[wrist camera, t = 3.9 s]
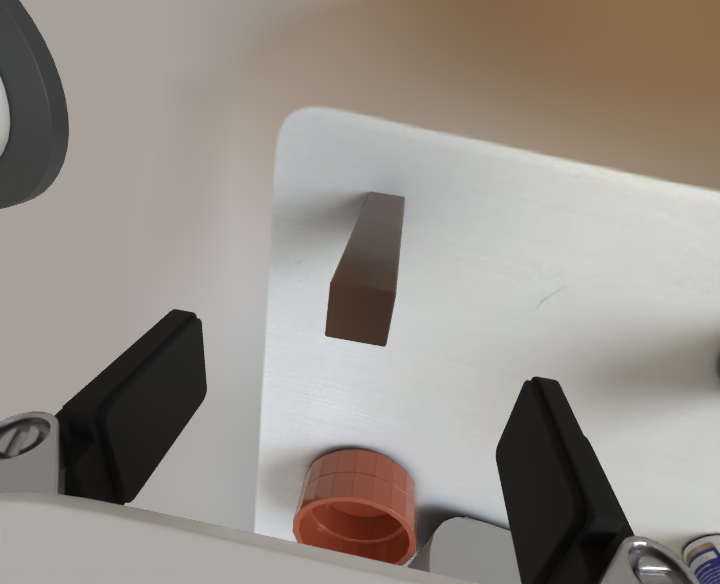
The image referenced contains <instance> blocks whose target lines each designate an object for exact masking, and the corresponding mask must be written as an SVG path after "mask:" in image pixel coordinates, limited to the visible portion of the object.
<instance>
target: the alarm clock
mask: <svg viewBox="0 0 720 584" xmlns="http://www.w3.org/2000/svg"><path fill="white" fill-rule="evenodd" d="M408 568H412V569H416V570H421V571H425V572H430V573H434V574H438V575H443V576H447V577H451V578H456V579H460V580H465V581H469V582H473V583H477V584H522V583H521V579H520V574H519V570H518V565H517V560H516V555H515V550H514V545H513V540H512V535H511V531H509V530H506V529H503V528H500V527H497V526H494V525H491V524H488V523H485V522H481V521H479V520H476V519H473V518H470V517H467V516H464V517H463V518H461V517H455V518H452V519H449V520H446V521H444V522H443V523H442V524H441V525H440V526H439V527H438V529H437V530H436V531H435V532H434V533H433V535H432V536H431V537H430V539H429V540H428V541H427V543H426V544H425V545H424V546H423V548H422V549H421V550H420V552H419V553H418V554H417V556H416V557H415V558H414V559H413V561H412V562H411V563H410V565H409V566H408Z"/></svg>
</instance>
